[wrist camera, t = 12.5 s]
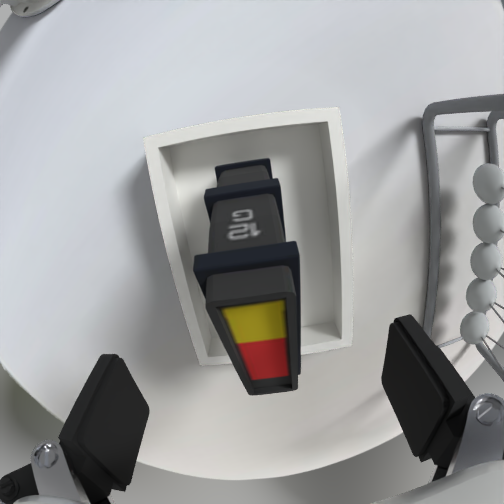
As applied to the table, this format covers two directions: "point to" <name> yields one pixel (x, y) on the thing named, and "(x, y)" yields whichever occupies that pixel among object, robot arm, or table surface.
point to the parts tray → (294, 208)
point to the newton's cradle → (484, 222)
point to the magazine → (252, 277)
